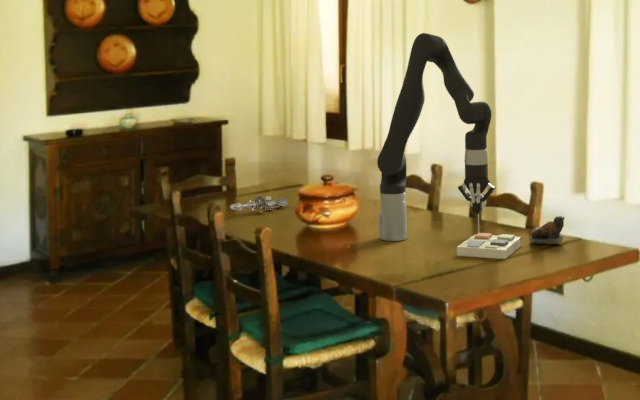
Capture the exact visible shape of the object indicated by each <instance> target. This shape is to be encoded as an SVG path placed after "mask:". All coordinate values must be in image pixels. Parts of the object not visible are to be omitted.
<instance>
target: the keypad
mask: <svg viewBox="0 0 640 400" xmlns="http://www.w3.org/2000/svg"><path fill="white" fill-rule="evenodd" d="M476 234H477V233H475V234H473V235H471V237H469V238H467V239H466V240H465V241H463V242H462V243H460V244H458V246H456V256H458V257H470V258H471V257H472V258H486V259H498V260H500V259H501V260H506V259H508V258H509V257H510V255H512V254H513V253H515V252H516V250H518V249H520V247H521V246H522V236H515V235H514V239H513V240H512V241H508V244H507V245H506V246H495V245H490V242H491V241H493V240H494V239H497V237H498V236H499V235H500V234H499V235H497V234H495V235H494V234H492V237H491V238H490V239H489V240H487V239H475V235H476ZM471 240H475V241H485V243H483V244H482V245H480V244H467V243H468V242H470V241H471Z"/></svg>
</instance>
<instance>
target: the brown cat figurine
mask: <svg viewBox="0 0 640 400" xmlns="http://www.w3.org/2000/svg"><path fill="white" fill-rule="evenodd" d="M564 220H565V216H562V215H556V216H555V217H554V219H553V220H550V221H547V222H545V224H543V225H541V226H536V227H534V228H533V229H532V230H531V232H530V237H529V241H530V242H532V243H535V244H540V245H560V244H562V241H563V240H564V237H563V234H562V233H561V232H562V231H563V229H564V226H565V225H564V224H565V221H564Z"/></svg>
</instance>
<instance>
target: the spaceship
mask: <svg viewBox="0 0 640 400" xmlns="http://www.w3.org/2000/svg"><path fill="white" fill-rule="evenodd" d="M288 201H289V200H288V199H287V198H284V197H282V196H280V197H279V198H277V199H273V198H272V197H271V196H267V195H266V196H265V197H264V196H263V195H257V196H255V198H254V200H253V201H252V199H249V200H248V201H247V202H246V203H243V204H242V203H239V202H238V203H232V204H230V205H229V209H230V210H231V211H235V212H236V211H241V210H243V209H246V210H250V211H251V212H253V211H255V209H257V211H258V210H259V209H260V210H264V211H265V212H266V211H267V209H269V208H274V209H275V206H283V207H285V206H288V205H289V204H290V203H289V202H288ZM287 204H288V205H287Z"/></svg>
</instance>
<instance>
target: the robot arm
mask: <svg viewBox="0 0 640 400" xmlns="http://www.w3.org/2000/svg"><path fill="white" fill-rule="evenodd" d="M409 53H410V54H409V58H408V63H407V68H406V71H405V75H404V78H403V82H402V86H401V89H400V91H399V94H398V97H397V100H396V103H395V106H394V110H393V113H392V117H391V121H390V125H389V129H388V133H387V136H386V139H385V141H384V143H383V146H382V148H381V149H380V152H379V154H378V157H377V162H376V163H377V168H378V170H379V171H380V172H381V179H380V180H381V181H380V184H379V193H380V195H379V198H380V213H378V226H379V227H378V228H379V229H378V230H379V240H381V241H382V240H383V241H387V242H398V241H405V240H407V239H408V226H407V225H408V223H407V221H408V220H407V195H406V193H407V192H406V189H407V188H406V187H407V157H406V155H405V150H406V146H407V143H408V140H409V138H410V136H411V134H412V133H413V130H414V128H415V127H416V125H417V122H418V121H419V119H420V116H421V114H422V113H421V112H422V111H423V107H424V104H425V99H426V98H425V95H426V94H425V89H424V80H423V77H424V72H425V68H426V66H427V63H428V62H430V63H434V65H436V66H437V68H438V69H439V71H441V73H442V77H443V84H444V87H445V89H446V91H447V93H448V94H449V96H450V97H451V99H452V100H453V101H454V104H455V107H456V112H457V114H458V118H459V119H460V120H461V121H462V122H463V123H465V124H467V125H474V126H473V129H471V130H468V131H466V133H465V135H464V136H465V137H464V145H465V146H464V148H465V149H464V159H463V161H464V180H463V183H462V184H460V185H459V186H457V189H458V191H459V192H460V193H461V194H462V196H463V197H464V198H465V200H466V201H468V202H470V201H471V202H472V206H471V208H472V212H473V214H474V215H478V214H479V215H480V213H481V212H482V211H483V209H482V202H484V201H486V202H487V201H488V199H489V197H490V196H491V195H492V194H493V193H494V191H495V190H496V188H497V186H495V185H492V184H491V183H490V180H489V167H488V166H489V165H488V164H489V163H488V162H489V161H488V160H489V158H488V145H487V144H488V140H487V137H488V132H489V128H490V125H491V120H492V107H491V106H490V104H489V103H488V102H486V101H483V100H482V101H474V102H471V101H472V100H473V99H474V96H475V93H474V90H473V88H472V87H471V85H470V84H469V83H468V81H467V80H466V79H465V77H464V76H463V74H462V73H461V70H460V69H459V67H458V65H457V64H456V60H455V59H454V57H453V55H452V53H451V51H450V48H449V46H448V44H447V42H446V41H445V39H444V38H443V37H441V36H439V35H434V34H431V33H425V32H422V33H419V34H418V35H417V36H416V37H415V39H414V40H413V42H412V47H411V49H410V52H409ZM485 190H487V191H486V192H485V194H484V191H485ZM482 195H483V196H484V197H483V198H482Z"/></svg>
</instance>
